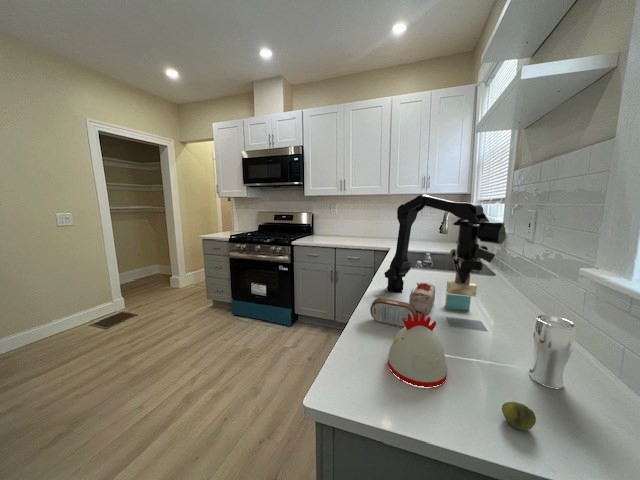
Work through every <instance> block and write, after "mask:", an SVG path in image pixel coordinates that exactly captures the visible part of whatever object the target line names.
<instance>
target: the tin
mask: <svg viewBox="0 0 640 480" xmlns="http://www.w3.org/2000/svg"><path fill="white" fill-rule="evenodd" d="M369 311H370V315H371V317H372V318H373V320H374V321H376V322H377V323H380V324H383V323H384V325H388V324H389V326H394V327H397V326H398V328H402V327H405V324H404V322H403V320H402V317H403V319H404V320H405V321H407V319H408V313H409V314H410V315H411V318H412V321H413V320H414V317H415V314H416V312H417V311H415V309H414V307H413V306H412V305H410V304H409V302H405V301H401V300H395V299H389V298H383V297H380V298H375V299H374V300H373V301H372V303H371V305H370V309H369Z"/></svg>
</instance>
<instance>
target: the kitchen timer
mask: <svg viewBox="0 0 640 480" xmlns="http://www.w3.org/2000/svg"><path fill="white" fill-rule="evenodd" d="M425 315H426V314H424V313H423V312H422V313H421V315H420V318H419V313H418V311H416V314H415V317H414V320H413V321H412V318H411V315H410V314H409V313H408V319H407V321H405V320H404V319H403V317H402V320H403V322H404V324H405V327H404V328H402V327H401V329H400V330H399V331H398V333H397V334H396V335H395V337H394V338H393V340H392V343H391V345H390V347H389V349H388V350H389V351H388V357H387V365H389V366H388V368H389V367H390V369H391V370H392V372H393V373H394V374H395V375H396V376H397V377H399V378H400V379H402V380H404V381H406V382H408V383H411V384H413V385H417V386H424V387H433V386H437V385H440V384H442V383H443V382H444V381H445V380H447V378H446V377H447V376H448V363H447V359H446V355H445V351H444V347H443V345H442V343H441V340H440V339H439V337H438V336H437V335H436V333H435V331H433V330H434V329H435V328H436V326H437V322H436V320H433V322H431V321H432V318H431V317H430V316H427V318H426V316H425ZM430 323H431V324H430ZM390 369H389V370H390ZM392 372H391V373H392ZM393 373H392V374H393ZM397 377H396V378H397ZM445 382H446V381H445ZM445 382H444V383H445ZM444 383H443V384H444ZM443 384H442V385H443Z"/></svg>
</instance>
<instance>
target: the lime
mask: <svg viewBox="0 0 640 480" xmlns="http://www.w3.org/2000/svg"><path fill="white" fill-rule="evenodd" d="M501 410H502V411H501V412H502V414H503V417H504V419H505V420H506V421H507V422H508V424H510V425H511V426H512V427H513V426H514V427H513V428H515V427H516V428H515V429H518V428H519V430H521V429H522V431H528V430H531V429H532V428H533V427H534V426H535V425H536V423H537V417H536V415H535V412H534V411H533V410H532V409H531V408H530V407H528V406H527V405H526V404H523V403H521V402H517V401H508V402H506V401H505V402H504V403H503V404H502V406H501Z"/></svg>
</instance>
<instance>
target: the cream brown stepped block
mask: <svg viewBox="0 0 640 480" xmlns="http://www.w3.org/2000/svg"><path fill="white" fill-rule="evenodd" d="M470 279H471V273H470V274H469V276H468V278H467V280H466V282H465V283H461V280H460V277H459V273H458V271H456V270H455V280H447V281H446V283H447V284H446V291H445V292H447V293H448V294H457V295H465V296H471V297H477V290H478V285H477V284H476V283H472V282H470V281H471V280H470Z"/></svg>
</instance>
